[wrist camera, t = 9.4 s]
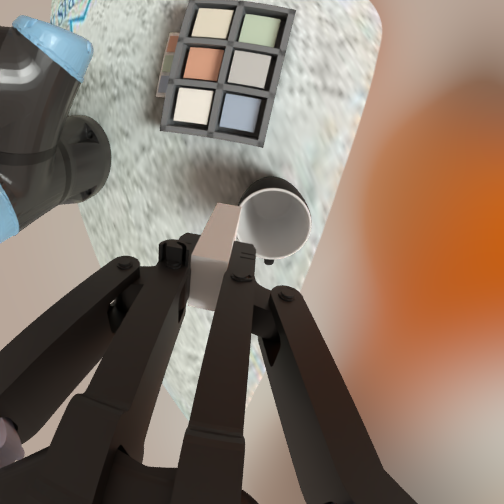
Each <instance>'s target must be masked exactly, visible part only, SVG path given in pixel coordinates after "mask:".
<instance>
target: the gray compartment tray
mask: <svg viewBox="0 0 504 504" xmlns="http://www.w3.org/2000/svg"><path fill="white" fill-rule="evenodd" d="M199 8H208V9H223V10H234V13H235V15H234V19H233V22H232V26H231V29H230V33H229V37H228V41H227V40H218V39H206V38H193V37H192V32H193V28H194V25H195V21H196V18H197V14H198V11H199ZM295 12H296V10H293V9H288V8H284V7H279V6H273V5H267V4H261V3H254V2H247V1H238V0H189V3H188V6H187V9H186V13H185V16H184V19H183V23H182V26H181V30H180V33H178V32H170V34H169V37H168V41H167V45H166V49H165V53H164V58H163V62H162V66H161V71H160V76H159V81H158V86H157V91H156V97H165V101H164V107H163V113H162V119H161V125H160V131H166V132H175V133H182V134H190V135H197V136H203V137H210V138H216V139H221V140H227V141H233V142H238V143H243V144H248V145H253V146H258V147H262V148H263V146H264V142H265V137H266V133H267V129H268V124H269V120H270V116H271V111H272V107H273V103H274V99H275V94H276V90H277V86H278V82H279V78H280V73H281V69H282V65H283V61H284V57H285V53H286V49H287V44H288V40H289V36H290V32H291V28H292V24H293V20H294V16H295ZM246 14H251V15H258V16H264V17H270V18H275V19H280V20H281V22H280V27H279V31H278V35H277V39H276V43H275V47H274V48H272V47H267V46H261V45H255V44H249V43H243V42H238V41H239V37H240V34H241V30H242V26H243V22H244V19H245V15H246ZM190 47H196V48H209V49H219V50H225V53H224V57H223V61H222V65H221V69H220V74H219V78H218V83H217V82H210V81H201V80H190V79H186V78H183V77H184V73H185V68H186V64H187V59H188V55H189V51H190ZM179 88H189V89H198V90H207V91H214V92H215V97H214V101H213V106H212V111H211V116H210V121H209V124H208V125H205V124H198V123H191V122H183V121H174V114H175V108H176V103H177V98H178V92H179ZM226 94H233V95H239V96H244V97H250V98H255V99H260V100H262V101H261V106H260V110H259V114H258V119H257V123H256V128H255V132H254V133H253V132H248V131H243V130H238V129H232V128H226V127H220V126H219V125H220V120H221V115H222V111H223V106H224V101H225V96H226Z"/></svg>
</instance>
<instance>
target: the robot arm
mask: <svg viewBox="0 0 504 504" xmlns="http://www.w3.org/2000/svg"><path fill="white" fill-rule="evenodd" d="M12 25H13V27H2V26H0V243H2V242H3V241H5V240H6V239H8V238H10V237H11V236H15V235H17V234H18V233H19V232H20V231H21V230H22V229H24V228H25V227H27V226H28V225H29V224H31V223H32V222H34V221H35V220H36V219H38V218H39V217H41V216H42V215H44V214H45V213H47V212H48V211H50V210H51V209H53V208H54V207H56V206H57V205H60V204H71V203H80V202H83V201H85V200H87V199H89V198H91V197H92V196H94V195H95V194H97V193H98V192H99V191H100V190H101V189H102V187H103V186H104V184H105V182H106V180H107V178H108V175H109V172H110V167H111V150H110V144H109V141H108V138H107V136H106V134H105V132H104V130H103V129H102V127H101V126H100V125H99V124H98V123H97V122H96V121H95V120H93V119H92V118H90V117H87V116H83V115H76V116H70V117H67V116H68V113H69V110H70V108H71V105H72V103H73V100H74V98H75V96H76V93H77V91H78V89H79V87H80V84H81V83H83V80H84V78H83V77H84V75H85V72H86V70H87V67H88V65H89V63H90V60H91V58H92V56H93V46H92V43H91V42H90V41H89V40H87V39H85V38H83V37H81V36H79V35H77V34H75V33H73V32H70V31H68V30H66V29H63V28H61V27H58V26H55V25H53V24H50V23H47V22H44V21H40V20H38V19H34V18H31V17H28V16H24V15H21V16H19V17H18V18H17V19H16V20H15V21H13V23H12ZM241 208H242V207H240V206H234V205H229V204H223V203H217V205H216V207H215V209H214V211H213V213H212V215H211V217H210V219H209V220H208V222H207V224H206V226H205V228H204V230H203V232H202V234H201V235H197V234H192V233H186V234H184V235H182V236H181V237H180V238H179V240H174V239H171V240H165V241H162V242H161V243H160V244H159V261H158V263H157V265H156V266H149V267H148V266H140V262H139V261H138V259H136V258H134V257H131V256H121V257H117V258H115V259H113V260H112V261H110V262H109V263H108V264H106V265H105V266H103V267H102V268H101V269H99V270H98V271H97V272H95V273H94V274H93V275H91V276H90V277H89V278H87V279H86V280H85V281H83V282H82V283H81V284H79V285H78V286H77V287H75V288H74V289H73V290H71V291H70V292H69V293H68V294H66V295H65V296H64V297H63V298H61V299H60V300H59V301H58V302H56V303H55V304H54V305H53V306H51V307H50V308H49V309H48V310H47V311H45V312H44V313H43V314H42V315H41V316H40V317H38V318H37V319H36V320H35V321H33V322H32V323H31V324H30V325H29V326H28V327H26V328H25V329H24V330H23V331H22V332H21V333H20V334H19V335H17V336H16V337H15V338H14V339H13V340H12V341H11V342H10V343H9V344H7V345H6V346H5V347H4V348H3V349H2V350H1V351H0V504H258V503H257V501H256V500H254V499H253V498H252V497H251V496H250V495H249V494H248V493H246V492H245V491H244V490H242V479H243V466H244V454H245V439H244V437H243V427H244V415H245V404H246V392H247V380H248V367H249V355H250V343H251V333H252V334H255V335H257V336H258V342H259V345H260V349H261V353H262V356H263V360H264V364H265V367H266V371H267V374H268V378H269V381H270V385H271V389H272V392H273V396H274V399H275V403H276V407H277V410H278V414H279V417H280V420H281V424H282V427H283V431H284V434H285V438H286V441H287V445H288V448H289V452H290V455H291V458H292V462H293V465H294V468H295V472H296V475H297V478H298V481H299V485H300V488H301V491H302V494H303V496H304V499H305V501H306V503H307V504H417V503H416V502H415V501H414V500H413V499H412V498H411V497H410V496H409V495H408V494H407V493H406V492H405V491H404V490H403V489H402V488H401V487H400V486H399V485H398V483H397V482H396V481H395V480H394V479H393V478H392V477H390V475H389V474H387V472H386V471H385V470H384V469H383V466H382V464H381V462H380V459H379V457H378V455H377V453H376V450H375V448H374V446H373V444H372V441H371V439H370V437H369V435H368V432H367V430H366V428H365V426H364V423H363V421H362V419H361V417H360V415H359V413H358V411H357V408H356V406H355V404H354V402H353V400H352V397H351V395H350V393H349V391H348V389H347V387H346V385H345V383H344V380H343V378H342V376H341V374H340V372H339V370H338V368H337V366H336V364H335V361H334V359H333V357H332V355H331V353H330V351H329V349H328V347H327V345H326V343H325V341H324V339H323V337H322V335H321V333H320V331H319V329H318V327H317V325H316V323H315V320H314V318H313V317H312V314H311V312H310V311H309V308H308V307H307V304H306V302H305V301H304V299H303V296H302V295H301V294H300V292H299V291H297V290H296V289H294V288H292V287H289V286H283V285H282V286H276V287H274V288H273V289H272V291H271V290H268V289H266V288H264V287H262V286H260V285H259V284H258V283H257V282H256V280H255V276H254V272H255V259H256V248H255V247H254V245H253V244H249V243H244V242H238V241H236V236H237V230H238V225H239V219H240V214H241ZM113 300H114V302H113V303H111V302H112V301H113ZM187 300H188V306H191V307H196V308H201V309H206V310H211V311H215V312H214V316H213V320H212V325H211V329H210V333H209V337H208V341H207V345H206V350H205V354H204V358H203V363H202V367H201V371H200V376H199V380H198V384H197V389H196V393H195V398H194V402H193V407H192V411H191V416H190V420H189V425H188V427H187V429H186V432H185V435H184V439H183V444H182V449H181V453H180V459H179V463H178V468H161V467H148V466H145V465H143V464H142V461H143V454H144V441H145V437H146V434H147V430H148V427H149V424H150V420H151V416H152V413H153V410H154V407H155V403H156V400H157V397H158V394H159V391H160V387H161V384H162V381H163V378H164V375H165V372H166V369H167V366H168V363H169V360H170V357H171V354H172V351H173V348H174V345H175V342H176V339H177V336H178V333H179V330H180V327H181V324H182V322H183V319H184V316H185V312H186V303H187ZM110 303H111V304H110ZM102 357H103V358H102ZM101 358H102V360H101V362H100V364H99V366H98V368H97V370H96V372H95V374H94V376H93V378H92V380H91V382H90V384H89V386H88V388H87V390H86V391H85V392H84V393H83V394H76V395H75V396H73V398H72V399H71V400H70V402H69V404H68V406H67V408H66V410H65V412H64V414H63V416H62V419H61V421H60V423H59V425H58V428H57V430H56V432H55V435H54V437H53V439H52V442H51V444H50V446H48V447H46V448H44V449H42V450H40V451H38V452H36V453H34V454H32V455H30V456H28V457H25V458H23V457H24V450H23V448H22V446H21V444H23V443H25V442H26V441H28V440H29V439H30V438H31V437H33V436H34V435H35V434H36V433H37V432H38V431H39V430H40V429H41V428H42V427H43V426H44V425H45V423H46V422H47V421H48V420H49V419H50V417H51V416H52V415H53V414H54V413H55V411H56V410H57V409H58V408H59V407H60V405H61V404H62V403H63V402H64V401H65V399H66V398H67V397H68V396H69V395H70V394H71V393H72V391H73V390H74V389H75V388H76V387H77V386H78V384H79V383H80V382H81V381H82V380H83V379H84V378H85V376H86V375H87V374H88V373H89V372H90V371H91V370H92V369H93V367H94V366H95V365H96V364H97V363H98V362H99V361H100V359H101ZM15 460H18V461H16V462H15Z"/></svg>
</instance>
